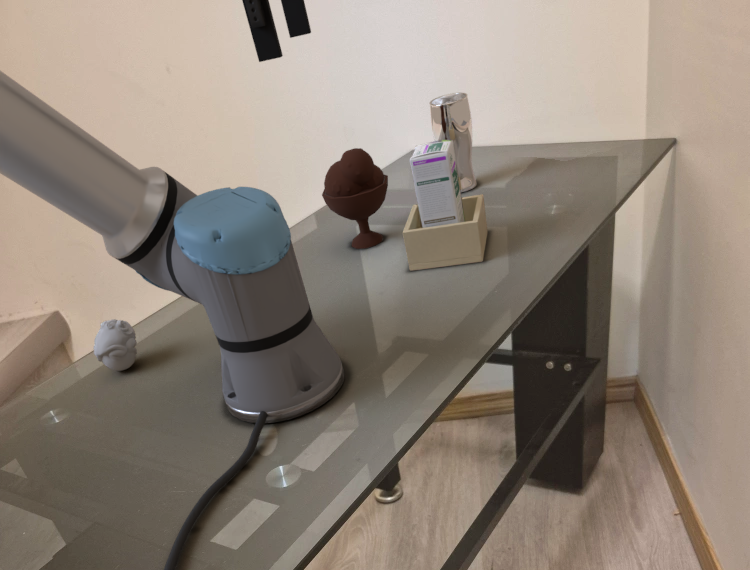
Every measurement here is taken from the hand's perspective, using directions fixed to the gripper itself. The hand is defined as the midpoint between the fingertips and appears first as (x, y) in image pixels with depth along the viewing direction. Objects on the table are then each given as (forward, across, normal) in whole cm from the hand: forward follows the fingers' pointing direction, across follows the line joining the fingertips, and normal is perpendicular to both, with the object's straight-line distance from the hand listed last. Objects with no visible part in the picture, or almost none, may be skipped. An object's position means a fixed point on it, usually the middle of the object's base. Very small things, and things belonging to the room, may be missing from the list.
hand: (286, 46), depth 90 cm
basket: (+33, -11, +14) cm, 37 cm away
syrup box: (+32, -11, +14) cm, 37 cm away
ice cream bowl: (+33, -20, -1) cm, 39 cm away
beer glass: (+33, -40, +13) cm, 53 cm away
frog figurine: (+33, +15, -31) cm, 48 cm away
